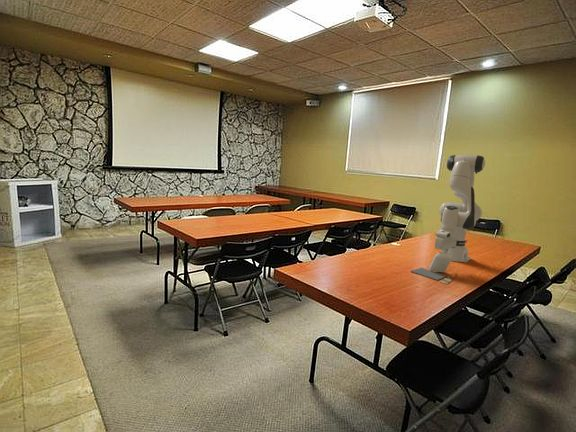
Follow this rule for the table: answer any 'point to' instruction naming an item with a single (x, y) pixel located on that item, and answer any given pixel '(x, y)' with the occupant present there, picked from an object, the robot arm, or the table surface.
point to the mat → (429, 274)
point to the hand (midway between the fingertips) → (444, 255)
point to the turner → (447, 280)
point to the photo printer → (440, 262)
